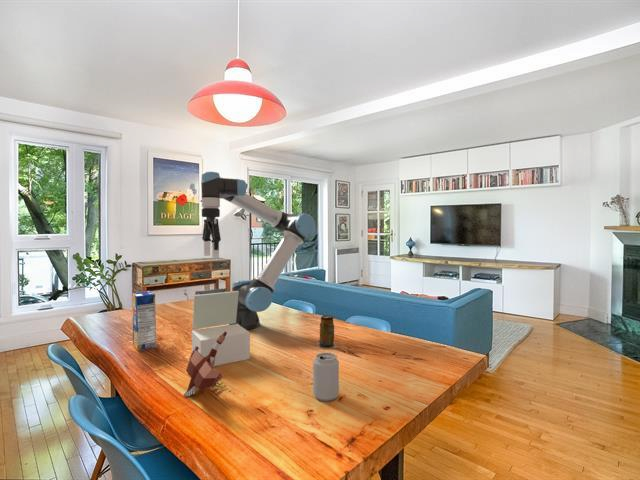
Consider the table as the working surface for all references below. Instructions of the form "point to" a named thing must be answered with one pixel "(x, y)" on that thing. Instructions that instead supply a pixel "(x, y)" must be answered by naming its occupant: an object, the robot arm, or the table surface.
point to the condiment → (327, 333)
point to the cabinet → (230, 349)
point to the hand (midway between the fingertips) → (211, 256)
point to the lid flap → (214, 308)
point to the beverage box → (144, 320)
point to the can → (326, 376)
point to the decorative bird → (204, 369)
